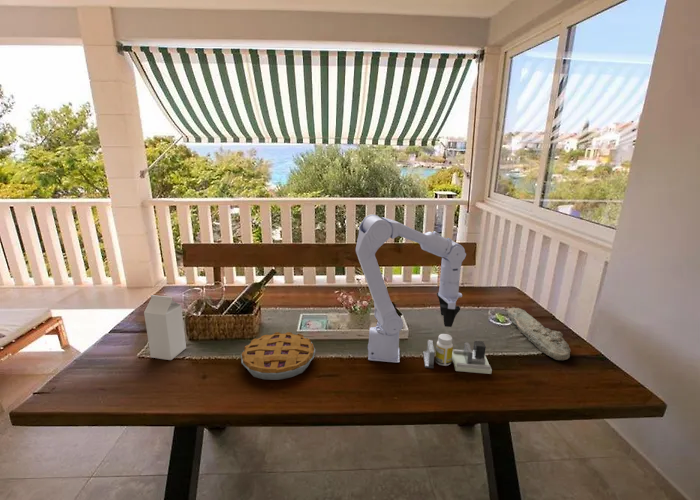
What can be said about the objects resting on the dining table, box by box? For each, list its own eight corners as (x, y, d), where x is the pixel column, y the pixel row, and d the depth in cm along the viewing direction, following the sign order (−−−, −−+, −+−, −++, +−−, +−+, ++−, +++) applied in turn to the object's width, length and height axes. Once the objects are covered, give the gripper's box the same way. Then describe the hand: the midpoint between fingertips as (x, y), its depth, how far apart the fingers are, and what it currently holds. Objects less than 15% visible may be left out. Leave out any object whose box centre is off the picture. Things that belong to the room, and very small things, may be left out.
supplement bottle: (449, 357, 109) (452, 333, 107) (452, 366, 104) (455, 341, 102) (434, 356, 109) (436, 332, 107) (436, 365, 105) (438, 340, 102)
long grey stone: (524, 316, 141) (499, 317, 141) (524, 304, 140) (500, 305, 140) (580, 362, 107) (548, 363, 107) (582, 346, 106) (549, 347, 106)
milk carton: (171, 360, 105) (163, 302, 100) (150, 357, 106) (141, 299, 101) (186, 348, 112) (179, 292, 107) (166, 345, 113) (159, 290, 108)
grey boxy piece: (466, 364, 103) (468, 347, 101) (463, 353, 108) (465, 337, 107) (485, 366, 102) (487, 349, 101) (480, 355, 108) (482, 339, 106)
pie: (313, 340, 118) (313, 327, 117) (317, 380, 97) (317, 364, 96) (246, 345, 115) (245, 331, 113) (235, 387, 94) (234, 371, 93)
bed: (455, 370, 102) (456, 364, 102) (451, 354, 110) (451, 348, 110) (491, 373, 101) (492, 367, 101) (484, 357, 109) (485, 351, 109)
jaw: (425, 367, 104) (426, 352, 102) (423, 352, 111) (424, 338, 110) (433, 368, 103) (434, 353, 102) (430, 353, 111) (432, 339, 110)
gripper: (468, 289, 100) (463, 332, 104) (458, 272, 114) (455, 311, 118) (442, 288, 101) (439, 331, 105) (436, 271, 115) (433, 310, 118)
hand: (446, 320), depth 111 cm, fingers open, 7 cm apart
